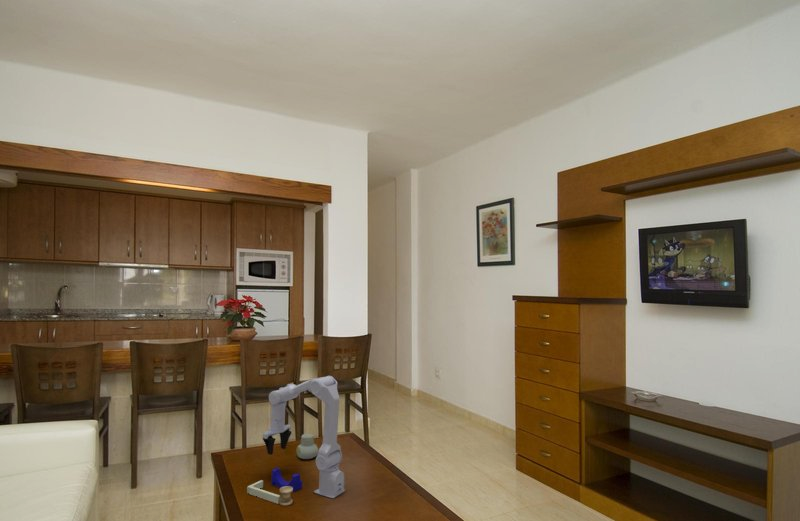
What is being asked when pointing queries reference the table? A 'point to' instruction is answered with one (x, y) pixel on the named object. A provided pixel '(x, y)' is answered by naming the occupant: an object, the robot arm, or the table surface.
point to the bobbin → (286, 495)
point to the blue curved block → (280, 482)
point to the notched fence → (262, 492)
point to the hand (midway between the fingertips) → (276, 451)
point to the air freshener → (307, 447)
